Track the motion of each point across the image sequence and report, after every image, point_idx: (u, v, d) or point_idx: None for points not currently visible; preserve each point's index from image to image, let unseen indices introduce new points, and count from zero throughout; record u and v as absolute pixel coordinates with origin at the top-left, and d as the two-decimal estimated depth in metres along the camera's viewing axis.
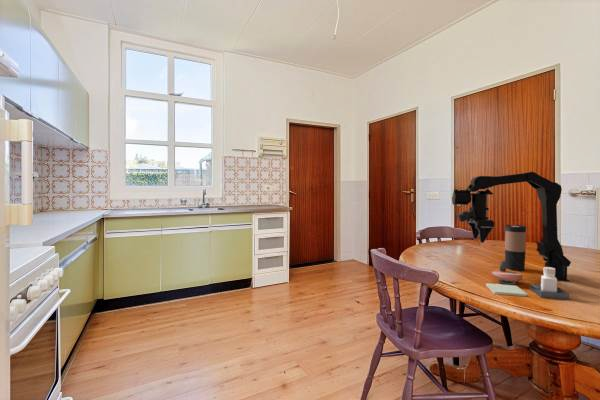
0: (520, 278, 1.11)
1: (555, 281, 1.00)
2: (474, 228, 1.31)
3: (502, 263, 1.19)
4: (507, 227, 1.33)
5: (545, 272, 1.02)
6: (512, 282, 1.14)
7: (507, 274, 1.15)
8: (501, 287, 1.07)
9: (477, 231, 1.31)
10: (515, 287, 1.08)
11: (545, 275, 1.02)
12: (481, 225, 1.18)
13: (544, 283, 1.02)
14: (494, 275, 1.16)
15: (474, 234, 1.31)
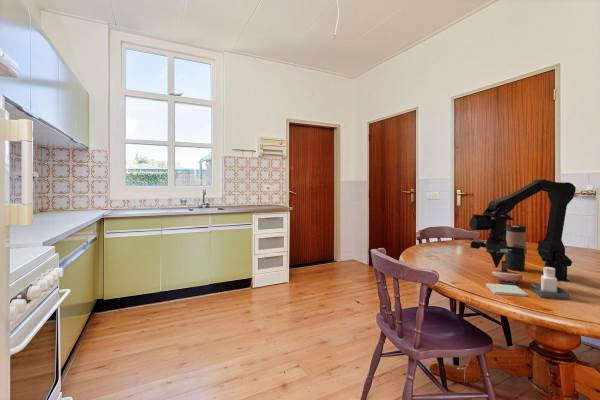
0: (518, 278, 1.11)
1: (555, 281, 1.00)
2: (495, 256, 1.21)
3: (503, 263, 1.18)
4: (507, 227, 1.33)
5: (545, 272, 1.02)
6: (512, 282, 1.14)
7: (507, 274, 1.15)
8: (501, 287, 1.07)
9: None
10: (515, 287, 1.08)
11: (545, 275, 1.02)
12: (524, 253, 1.13)
13: (544, 283, 1.02)
14: (493, 274, 1.16)
15: None
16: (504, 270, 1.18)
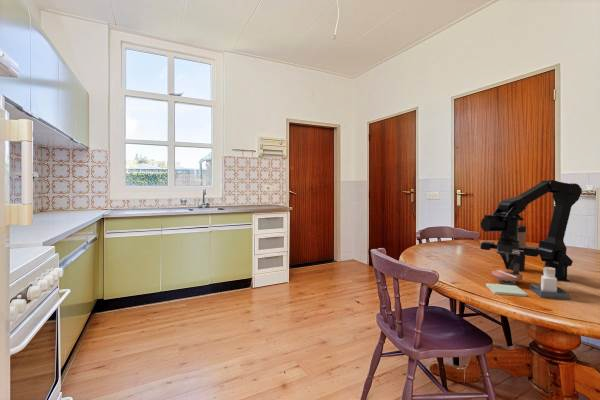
0: (503, 277, 1.12)
1: (555, 281, 1.00)
2: (506, 258, 1.18)
3: (513, 265, 1.16)
4: None
5: (545, 272, 1.02)
6: (512, 282, 1.14)
7: (504, 273, 1.16)
8: (501, 287, 1.07)
9: None
10: (515, 287, 1.08)
11: (545, 275, 1.02)
12: (537, 254, 1.10)
13: (544, 283, 1.02)
14: None
15: (507, 264, 1.18)
16: (513, 272, 1.16)
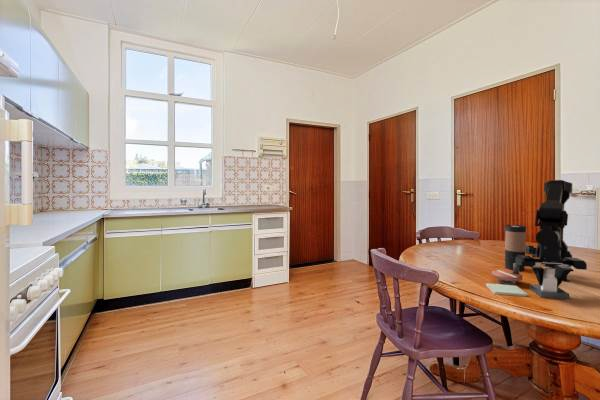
0: (503, 277, 1.12)
1: (555, 281, 1.00)
2: (558, 274, 1.02)
3: (513, 265, 1.16)
4: (507, 227, 1.33)
5: (545, 272, 1.02)
6: (512, 282, 1.14)
7: (504, 273, 1.16)
8: (501, 287, 1.07)
9: (558, 278, 1.01)
10: (515, 287, 1.08)
11: (545, 275, 1.02)
12: (516, 261, 1.06)
13: (544, 283, 1.02)
14: None
15: None
16: (513, 272, 1.16)
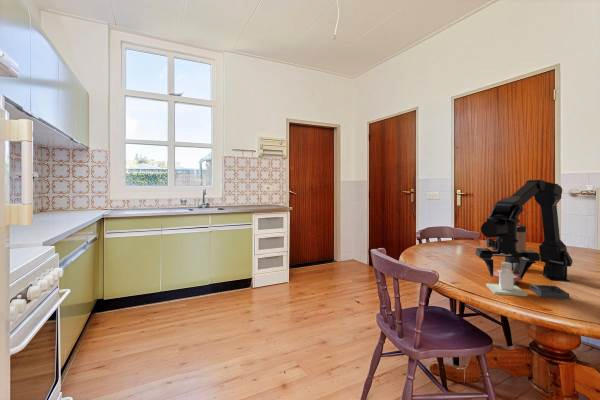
0: None
1: (512, 275, 1.04)
2: (521, 266, 1.05)
3: (513, 265, 1.16)
4: None
5: (503, 267, 1.06)
6: None
7: None
8: None
9: (522, 270, 1.04)
10: (515, 287, 1.08)
11: (503, 270, 1.06)
12: (476, 253, 1.10)
13: (502, 277, 1.05)
14: None
15: (519, 272, 1.06)
16: (513, 272, 1.16)
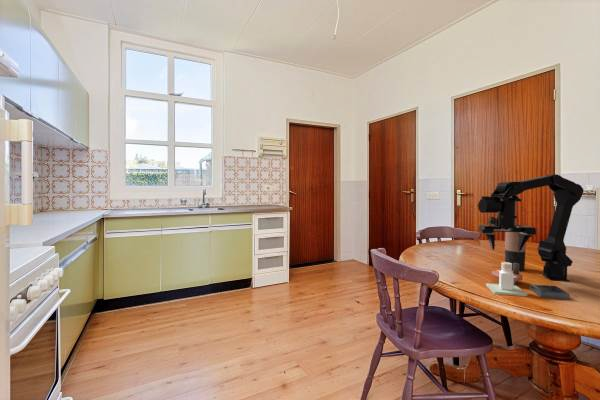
0: None
1: (512, 275, 1.04)
2: (520, 240, 1.17)
3: (513, 265, 1.16)
4: None
5: (503, 267, 1.06)
6: None
7: None
8: None
9: (520, 243, 1.16)
10: (515, 287, 1.08)
11: (503, 270, 1.06)
12: (479, 230, 1.23)
13: (502, 277, 1.05)
14: None
15: (518, 246, 1.18)
16: (513, 272, 1.16)
